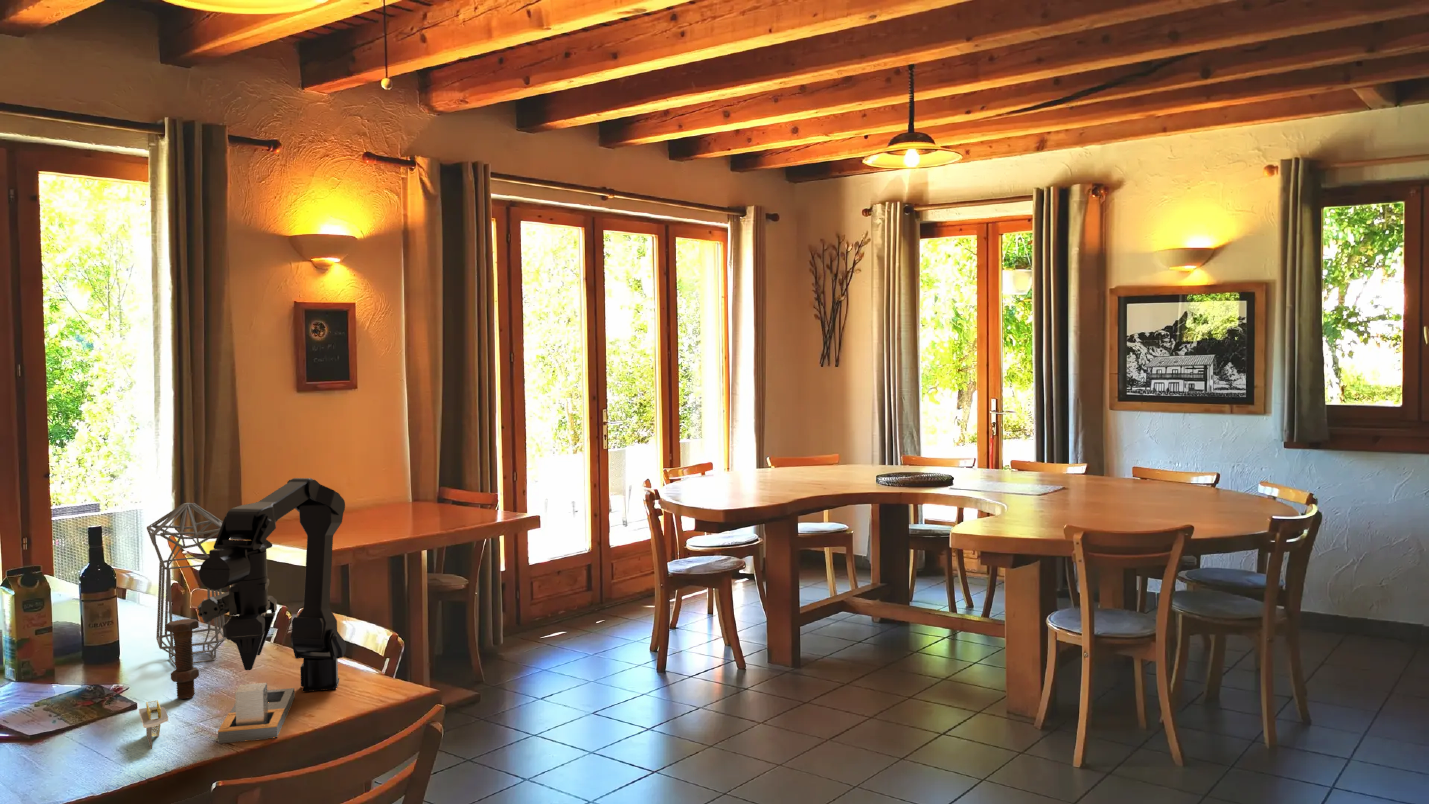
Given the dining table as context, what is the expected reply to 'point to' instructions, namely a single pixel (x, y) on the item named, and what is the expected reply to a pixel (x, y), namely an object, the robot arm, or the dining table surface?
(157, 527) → the geometric lantern
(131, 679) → the dining table surface
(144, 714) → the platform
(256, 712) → the nut block
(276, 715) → the rail plate
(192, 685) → the bolt
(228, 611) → the robot arm
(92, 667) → the dining table surface
